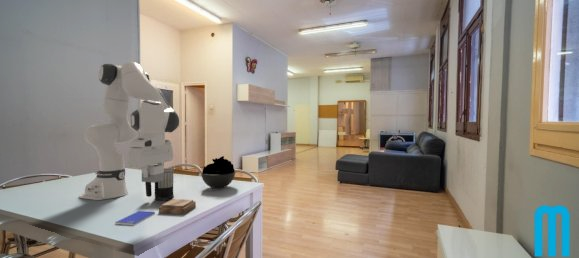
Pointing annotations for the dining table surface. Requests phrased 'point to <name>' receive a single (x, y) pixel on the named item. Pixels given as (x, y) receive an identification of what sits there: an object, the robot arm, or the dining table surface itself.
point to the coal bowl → (218, 173)
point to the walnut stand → (177, 206)
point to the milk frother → (162, 187)
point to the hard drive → (135, 218)
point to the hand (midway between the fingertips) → (152, 175)
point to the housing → (154, 173)
